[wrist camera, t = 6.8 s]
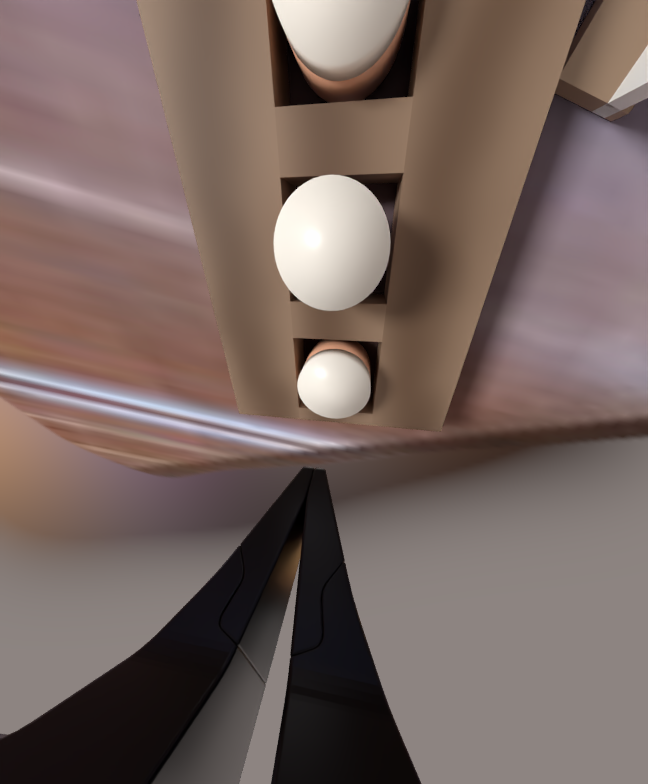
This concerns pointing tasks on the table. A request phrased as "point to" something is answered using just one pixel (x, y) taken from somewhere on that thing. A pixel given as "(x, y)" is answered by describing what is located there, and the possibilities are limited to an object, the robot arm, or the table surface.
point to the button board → (367, 166)
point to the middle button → (332, 242)
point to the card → (608, 59)
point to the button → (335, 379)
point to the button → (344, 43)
